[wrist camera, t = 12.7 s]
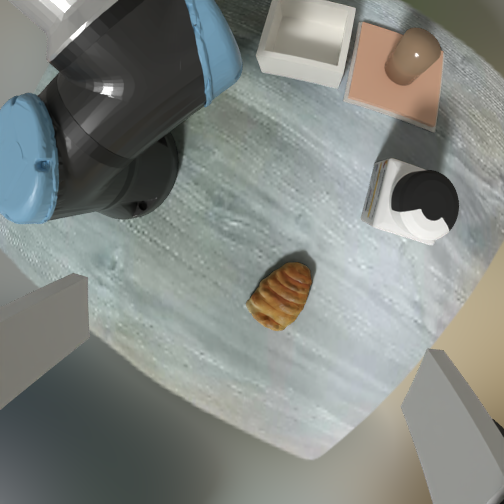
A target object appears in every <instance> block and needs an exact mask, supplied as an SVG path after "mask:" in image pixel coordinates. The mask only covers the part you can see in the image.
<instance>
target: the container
mask: <svg viewBox="0 0 504 504" xmlns="http://www.w3.org/2000/svg"><path fill="white" fill-rule="evenodd" d="M458 211H459V200H458V195H457V192H456V190H455V188H454V186H453V184H452V183H451V181H450V180H449V179H448V178H447V177H446V176H444V175H443V174H441V173H439V172H436V171H432V170H425V169H422V168H419V167H417V166H414V165H411V164H408V163H406V162H403V161H400V160H397V159H394V158H389V159H386V160H383V161H379V162H376V163H375V164H374V167H373V172H372V176H371V180H370V184H369V188H368V192H367V196H366V200H365V204H364V208H363V212H362V215H361V220H362V221H364V222H366V223H367V224H369V225H371V226H373V227H374V228H377V229H380V230H383V231H387V232H390V233H393V234H396V235H399V236H403V237H406V238H409V239H412V240H415V241H418V242H422V243H425V244H428V245H434V243H435V240H436V239H439V238H441V237H443V236H444V235H446V234H447V233H448V232H449V231H450V230H451V229H452V227H453V226H454V224H455V222H456V219H457V216H458Z"/></svg>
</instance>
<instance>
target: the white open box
mask: <svg viewBox="0 0 504 504" xmlns="http://www.w3.org/2000/svg"><path fill="white" fill-rule="evenodd" d="M355 11H356V8H354V7H350V6H347V5H343V4H338V3H334V2H330V1H325V0H272V2H271V5H270V9H269V12H268V15H267V19H266V22H265V25H264V29H263V32H262V36H261V39H260V43H259V46H258V50H257V53H256V57H257V60H258V62H259V65H260V68H261V70H262V72H263V73H268V74H274V75H279V76H284V77H289V78H294V79H298V80H303V81H307V82H312V83H316V84H320V85H324V86H328V87H331V88H335V89H338V87H339V84H340V82H341V79H342V76H343V73H344V68H345V63H346V58H347V53H348V48H349V43H350V38H351V33H352V27H353V22H354V16H355Z"/></svg>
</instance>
